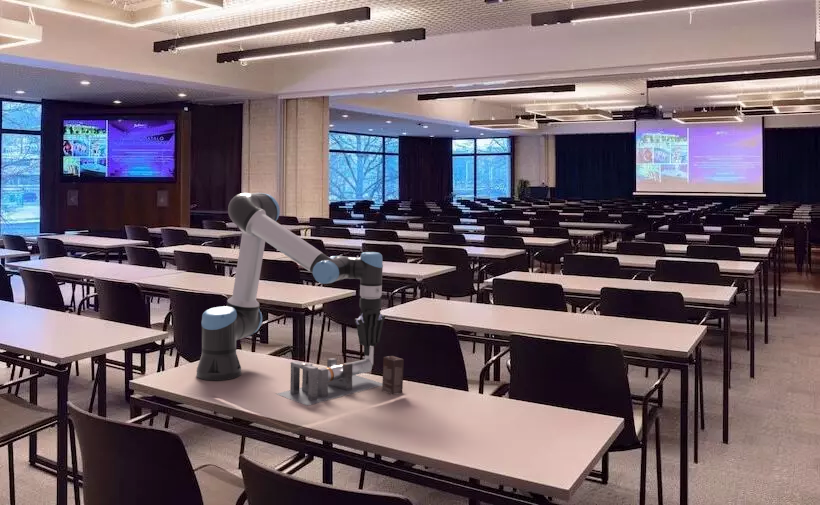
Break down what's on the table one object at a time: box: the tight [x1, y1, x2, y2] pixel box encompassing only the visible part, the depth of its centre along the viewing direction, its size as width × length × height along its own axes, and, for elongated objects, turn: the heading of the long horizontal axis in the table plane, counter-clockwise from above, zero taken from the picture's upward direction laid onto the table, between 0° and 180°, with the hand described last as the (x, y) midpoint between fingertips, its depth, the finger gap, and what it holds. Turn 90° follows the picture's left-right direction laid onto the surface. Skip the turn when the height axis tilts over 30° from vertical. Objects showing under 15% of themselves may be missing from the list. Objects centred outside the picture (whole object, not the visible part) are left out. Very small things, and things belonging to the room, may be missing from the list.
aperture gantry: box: [289, 360, 319, 401], centre depth 216 cm, size 11×2×10 cm, turn 48°
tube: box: [325, 358, 373, 382], centre depth 229 cm, size 5×22×5 cm, turn 138°
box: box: [381, 355, 404, 395], centre depth 225 cm, size 6×4×12 cm
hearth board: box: [276, 374, 382, 407], centre depth 226 cm, size 16×34×1 cm, turn 138°
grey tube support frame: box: [326, 357, 352, 391], centre depth 227 cm, size 10×2×9 cm, turn 48°
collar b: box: [301, 362, 328, 398], centre depth 220 cm, size 10×2×9 cm, turn 48°
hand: (368, 364), depth 237 cm, fingers closed
